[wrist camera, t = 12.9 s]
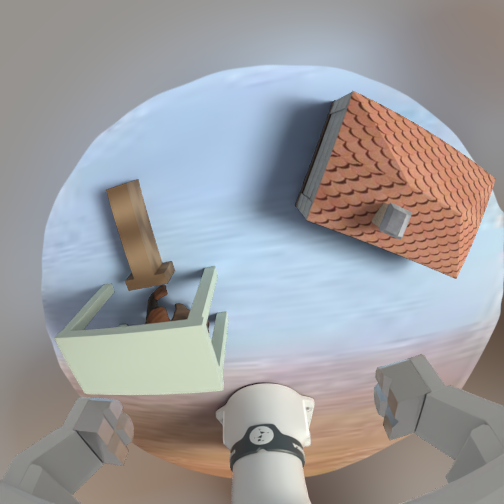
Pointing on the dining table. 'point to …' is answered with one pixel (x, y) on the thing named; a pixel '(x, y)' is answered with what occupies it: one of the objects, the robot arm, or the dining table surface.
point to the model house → (394, 185)
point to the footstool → (148, 350)
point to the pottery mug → (160, 313)
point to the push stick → (138, 237)
